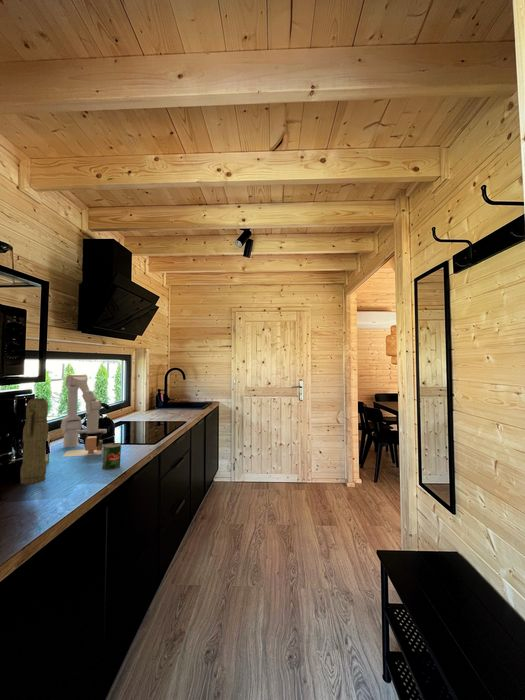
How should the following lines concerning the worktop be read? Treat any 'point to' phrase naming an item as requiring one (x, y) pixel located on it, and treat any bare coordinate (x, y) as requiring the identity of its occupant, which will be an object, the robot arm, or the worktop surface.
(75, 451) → the board
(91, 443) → the tan wooden block
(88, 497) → the worktop surface
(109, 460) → the canned tomato
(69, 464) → the worktop surface
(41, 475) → the tan tall block
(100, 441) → the walnut post
